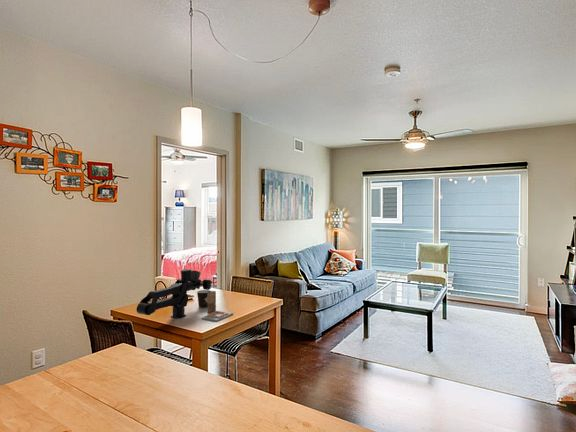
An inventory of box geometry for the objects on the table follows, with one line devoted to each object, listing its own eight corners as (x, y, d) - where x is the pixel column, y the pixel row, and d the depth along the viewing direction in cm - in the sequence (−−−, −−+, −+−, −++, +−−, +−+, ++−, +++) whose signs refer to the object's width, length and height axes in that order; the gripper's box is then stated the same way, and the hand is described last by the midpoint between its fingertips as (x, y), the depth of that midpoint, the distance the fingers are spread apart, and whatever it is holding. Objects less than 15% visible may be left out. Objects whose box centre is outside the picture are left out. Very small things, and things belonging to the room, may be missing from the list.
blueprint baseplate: (216, 321, 195) (216, 318, 195) (201, 319, 200) (201, 315, 200) (233, 314, 210) (233, 311, 209) (218, 312, 214) (218, 308, 214)
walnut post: (212, 314, 210) (212, 292, 210) (205, 313, 212) (205, 292, 212) (217, 312, 214) (217, 291, 214) (211, 311, 216) (211, 290, 216)
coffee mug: (198, 309, 221) (198, 293, 221) (196, 305, 229) (196, 290, 229) (216, 307, 226) (216, 291, 226) (214, 304, 234) (214, 289, 234)
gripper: (201, 273, 209) (218, 269, 223) (178, 271, 218) (195, 267, 232) (201, 292, 210) (218, 287, 224) (178, 289, 218) (195, 284, 232)
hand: (206, 281), depth 228 cm, fingers open, 9 cm apart
